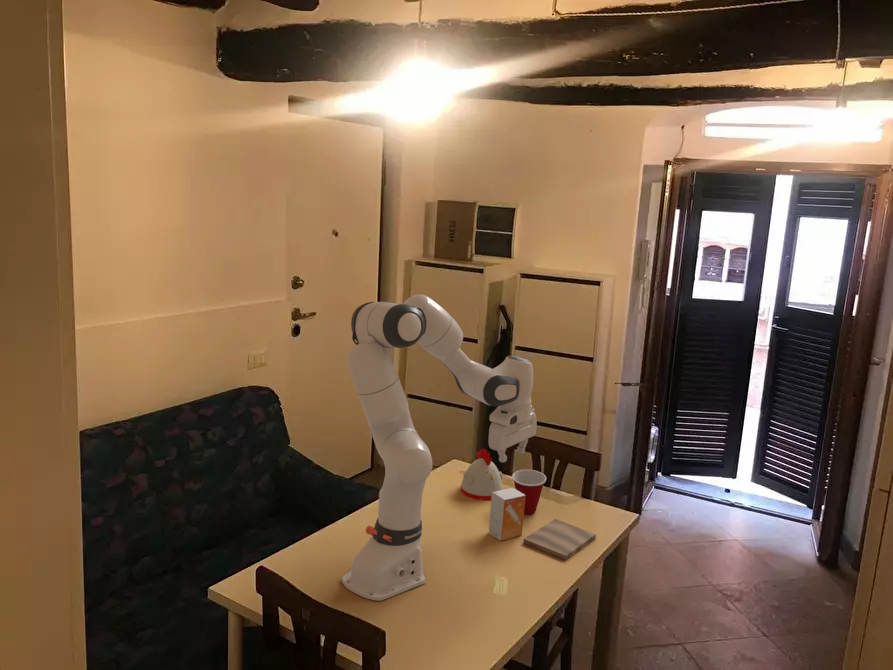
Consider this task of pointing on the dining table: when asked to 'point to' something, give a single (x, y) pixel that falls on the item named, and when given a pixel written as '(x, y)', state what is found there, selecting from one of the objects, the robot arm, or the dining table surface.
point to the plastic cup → (529, 487)
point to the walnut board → (559, 539)
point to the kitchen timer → (481, 478)
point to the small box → (506, 513)
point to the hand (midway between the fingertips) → (511, 457)
